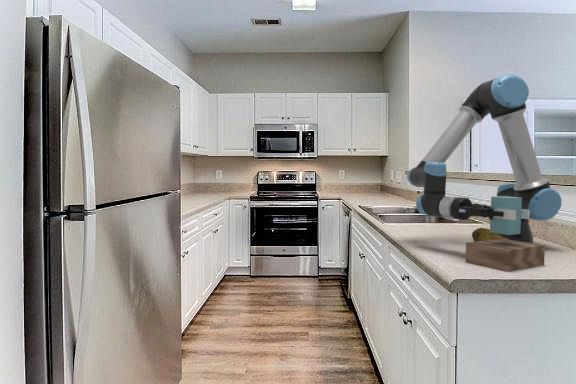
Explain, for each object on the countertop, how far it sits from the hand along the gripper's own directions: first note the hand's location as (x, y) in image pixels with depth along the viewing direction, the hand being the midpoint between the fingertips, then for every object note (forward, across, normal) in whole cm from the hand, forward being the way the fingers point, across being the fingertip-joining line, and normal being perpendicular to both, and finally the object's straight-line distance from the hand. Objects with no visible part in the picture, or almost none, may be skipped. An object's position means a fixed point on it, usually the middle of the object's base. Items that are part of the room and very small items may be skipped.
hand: (521, 215), depth 128 cm
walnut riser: (-5, 0, -16) cm, 16 cm away
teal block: (-5, 0, -6) cm, 8 cm away
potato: (-20, -16, -16) cm, 30 cm away
